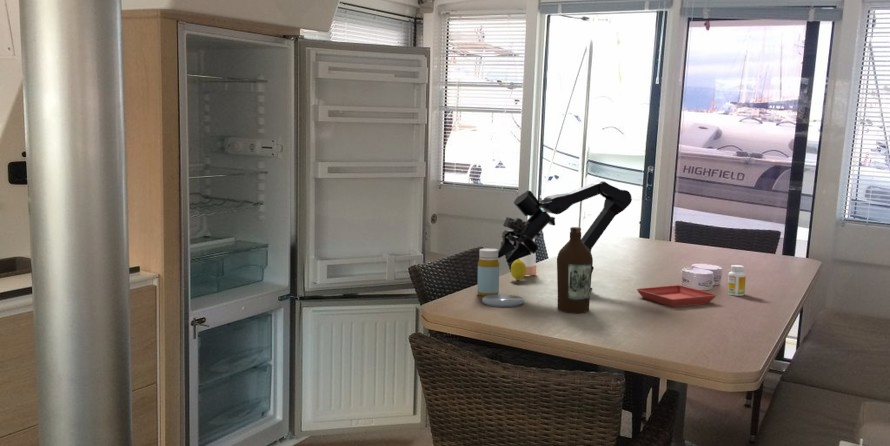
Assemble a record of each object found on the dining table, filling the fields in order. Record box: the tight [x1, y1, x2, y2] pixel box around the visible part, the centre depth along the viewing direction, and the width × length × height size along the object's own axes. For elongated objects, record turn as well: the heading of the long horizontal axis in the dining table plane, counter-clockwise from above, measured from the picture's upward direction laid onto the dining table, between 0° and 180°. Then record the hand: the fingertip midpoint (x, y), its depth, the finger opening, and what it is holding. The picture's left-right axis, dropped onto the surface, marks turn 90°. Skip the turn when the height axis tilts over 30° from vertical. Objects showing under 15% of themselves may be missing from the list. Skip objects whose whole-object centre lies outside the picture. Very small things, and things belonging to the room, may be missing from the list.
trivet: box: [482, 293, 525, 308], centre depth 237 cm, size 13×13×1 cm
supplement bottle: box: [727, 264, 747, 297], centre depth 253 cm, size 5×5×10 cm
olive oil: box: [556, 226, 594, 314], centre depth 227 cm, size 11×11×25 cm
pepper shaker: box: [519, 237, 537, 276], centre depth 285 cm, size 7×7×19 cm
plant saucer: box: [636, 284, 717, 308], centre depth 243 cm, size 18×18×3 cm
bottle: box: [476, 247, 500, 297], centre depth 248 cm, size 7×7×15 cm
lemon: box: [510, 259, 526, 281], centre depth 273 cm, size 6×6×8 cm
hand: (502, 259), depth 249 cm, fingers open, 9 cm apart
